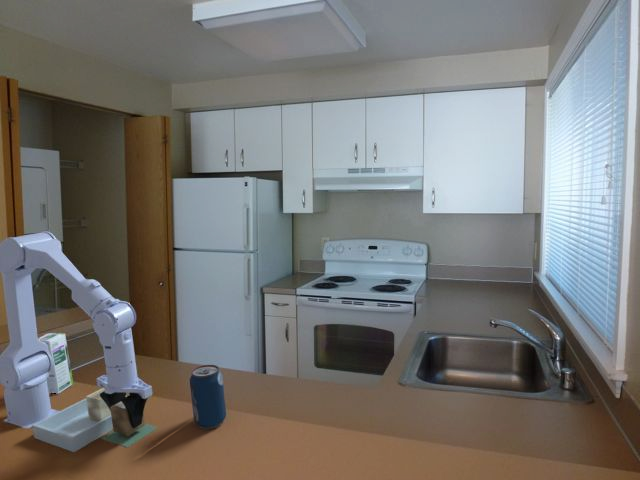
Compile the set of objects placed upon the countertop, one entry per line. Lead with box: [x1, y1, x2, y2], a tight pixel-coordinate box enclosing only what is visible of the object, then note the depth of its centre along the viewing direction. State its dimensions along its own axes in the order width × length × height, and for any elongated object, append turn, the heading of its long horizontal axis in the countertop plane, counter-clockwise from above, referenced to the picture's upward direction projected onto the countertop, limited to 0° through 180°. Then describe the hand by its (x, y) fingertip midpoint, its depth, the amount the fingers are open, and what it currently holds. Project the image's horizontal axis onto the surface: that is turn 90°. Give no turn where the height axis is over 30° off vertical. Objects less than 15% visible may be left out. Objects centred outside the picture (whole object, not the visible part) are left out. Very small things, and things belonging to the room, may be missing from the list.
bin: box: [32, 395, 128, 453], centre depth 108 cm, size 13×17×4 cm
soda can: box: [189, 364, 227, 430], centre depth 106 cm, size 7×7×12 cm
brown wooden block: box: [110, 401, 146, 436], centre depth 103 cm, size 4×4×6 cm
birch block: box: [85, 387, 111, 422], centre depth 110 cm, size 4×4×6 cm
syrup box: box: [38, 332, 74, 395], centre depth 127 cm, size 6×6×14 cm
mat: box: [100, 423, 159, 448], centre depth 103 cm, size 8×8×1 cm
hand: (128, 423), depth 103 cm, fingers closed on brown wooden block, 4 cm apart
